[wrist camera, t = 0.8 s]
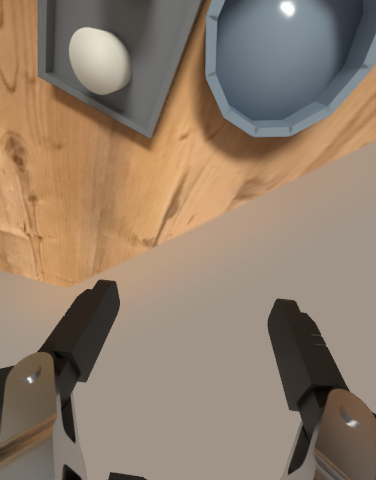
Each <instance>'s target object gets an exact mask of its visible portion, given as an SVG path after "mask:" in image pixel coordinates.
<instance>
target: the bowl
mask: <svg viewBox="0 0 376 480" xmlns="http://www.w3.org/2000/svg"><path fill="white" fill-rule="evenodd" d="M375 61H376V0H212V1H211V4H210V6H209V9H208V12H207V14H206V64H205V76H206V80H207V82H208V84H209V86H210V89H211V91H212V93H213V95H214V97H215V100H216V102H217V104H218V106H219V109H220V111H221V113H222V115H223V117H224V118H225V119H226V120H228V121H229V122H231V123H232V124H234V125H236V126H237V127H239V128H240V129H242V130H243V131H245V132H246V133H248V134H249V135H251V136H252V137H288V136H292V135H294V134H296V133H298V132H300V131H302V130H304V129H305V128H307V127H309V126H311V125H313V124H315V123H317V122H319V121H320V120H322V119H324V118H326V117H328V116H330V115H331V114H333V112H334V111H335V110H336V109H337V108H338V107H339V106H340V105H341V104H342V102H343V101H344V100H345V99H346V98H347V97H348V96H349V95H350V93H351V92H352V91H353V90H354V89H355V88H356V87H357V86H358V84H359V83H360V82H361V81H362V80H363V79H364V78H365V77H366V75H367V74H368V73H369V72H370V71H371V69H372V68H373V66H374V64H375Z"/></svg>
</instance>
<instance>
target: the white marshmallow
mask: <svg viewBox="0 0 376 480" xmlns="http://www.w3.org/2000/svg"><path fill="white" fill-rule="evenodd" d="M69 57H70V62H71V65H72V68H73V71H74V73H75V75H76V76H77V78H78V79H79V81H80V82H81V83H82V84H83V85H84V86H85V87H86V88H87V89H88V90H90V91H91V92H93V93H96V94H100V95H105V94H109V93H112V92H114V91H117V90H119V89H122V88H124V87H125V86H127V85H128V83H129V82H130V80H131V78H132V74H133V61H132V57H131V54H130V51H129V49H128V47H127V46H126V44H125V43H124V42H123V40H122V39H121V38H120V37H118V36H117V35H115V34H114V33H111V32H107V31H103V30H99V29H94V28H90V27H85V28H81V29H79V30H77V31H76V32H75V33H74V34H73V36H72V38H71V41H70V45H69Z"/></svg>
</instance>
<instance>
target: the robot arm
mask: <svg viewBox="0 0 376 480" xmlns="http://www.w3.org/2000/svg"><path fill="white" fill-rule="evenodd" d="M119 306H120V299H119V294H118V289H117V285H116V282H115V281H109V280H98V281H97V283H96V285H95V286H94V287H93V289H87V290H85V291H84V292H83V293H81V294H80V295H79V296H78V297H77V298H76V299H75V301H74V302H73V304H72V305H71V307H70V308H69V309H68V310H67V312H66V314H65V316H63V317H62V319H61V320H60V322H59V323H58V324H57V326H56V327H55V329H54V330H53V331H52V333H51V334H50V336H49V337H48V338H47V340H46V341H45V343H44V344H43V345H42V347H41V348H40V350H38V352H36V353H34V354H31V355H29V356H27V357H25V358H23V359H22V360H21V361H19V362H18V363H17V364H16V365H15V366H11V367H6V368H2V369H0V480H87V474H86V467H85V462H84V458H83V455H82V451H81V448H80V444H79V437H78V429H77V422H76V414H75V406H74V400H73V392H72V391H73V389H74V387H75V385H76V383H77V381H78V382H87V380H88V377H89V375H90V373H91V371H92V369H93V366H94V364H95V362H96V360H97V357H98V355H99V353H100V351H101V349H102V346H103V344H104V342H105V340H106V338H107V336H108V333H109V331H110V329H111V327H112V325H113V323H114V320H115V318H116V316H117V314H118V311H119ZM268 331H269V335H270V339H271V343H272V346H273V351H274V354H275V358H276V362H277V366H278V369H279V373H280V377H281V381H282V385H283V388H284V392H285V396H286V400H287V403H288V407H289V410H292V411H299V412H300V415H301V419H302V421H301V423H300V425H299V428H298V431H297V434H296V437H295V440H294V443H293V446H292V449H291V452H290V455H289V458H288V461H287V464H286V467H285V470H284V472H283V475H282V477H281V479H280V480H376V414H375V413H373V412H371V410H370V409H369V408H368V407H367V405H366V404H365V403H364V402H363V401H362V400H361V399H360V398H358V397H357V396H355V395H354V394H353V393H351V392H350V391H349V389H348V387H347V386H346V384H345V382H344V380H343V378H342V376H341V374H340V372H339V369H338V368H337V365H336V363H335V361H334V359H333V357H332V355H331V353H330V351H329V350H328V347H326V343H325V342H324V339H323V337H321V333H320V331H319V329H318V327H317V325H316V323H315V322H314V321H313V320H312V319H311V318H310V317H309V316H308V314H307V313H301V312H300V310H299V307H298V305H297V303H296V302H295V301H294V300H287V299H277V300H276V301H275V303H274V306H273V308H272V310H271V313H270V315H269V318H268ZM108 480H147V479H145V478H143V477H139V476H132V475H126V474H119V473H112V472H110V475H109V479H108Z"/></svg>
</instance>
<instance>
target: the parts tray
mask: <svg viewBox="0 0 376 480" xmlns="http://www.w3.org/2000/svg"><path fill="white" fill-rule="evenodd" d="M203 1H204V0H139V1H133V0H38V77H40V78H42V79H44V80H45V81H47V82H49V83H51V84H53V85H54V86H56V87H58V88H60V89H62V90H63V91H65V92H67V93H69V94H71V95H72V96H74V97H76V98H78V99H80V100H81V101H83V102H85V103H87V104H88V105H90V106H92V107H94V108H96V109H97V110H99V111H101V112H103V113H105V114H106V115H108V116H110V117H112V118H114V119H115V120H117V121H119V122H121V123H123V124H124V125H126V126H128V127H130V128H132V129H133V130H135V131H137V132H139V133H141V134H142V135H144V136H146V137H148V138H150V139H151V137H152V136H153V134H154V132H155V130H156V127H157V124H158V122H159V119H160V116H161V114H162V111H163V108H164V105H165V103H166V100H167V97H168V95H169V92H170V89H171V87H172V84H173V81H174V79H175V76H176V73H177V71H178V68H179V65H180V63H181V60H182V57H183V54H184V52H185V49H186V46H187V44H188V41H189V38H190V36H191V33H192V30H193V28H194V25H195V22H196V20H197V17H198V14H199V12H200V9H201V6H202V3H203ZM85 27H90V28H94V29H99V30H103V31H107V32H111V33H114V34H115V35H117V36H118V37H120V38H121V39H122V40H123V42H124V43H125V44H126V46H127V47H128V49H129V51H130V54H131V57H132V61H133V74H132V78H131V80H130V82H129V83H128V85H127V86H125V87H124V88H122V89H119V90H117V91H114V92H112V93H109V94H105V95H100V94H96V93H93V92H91V91H90V90H88V89H87V88H86V87H85V86H84V85H83V84H82V83H81V82H80V81H79V79H78V78H77V76H76V75H75V73H74V71H73V68H72V65H71V62H70V57H69V45H70V41H71V38H72V36H73V34H74V33H75V32H76V31H77V30H79V29H81V28H85Z"/></svg>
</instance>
